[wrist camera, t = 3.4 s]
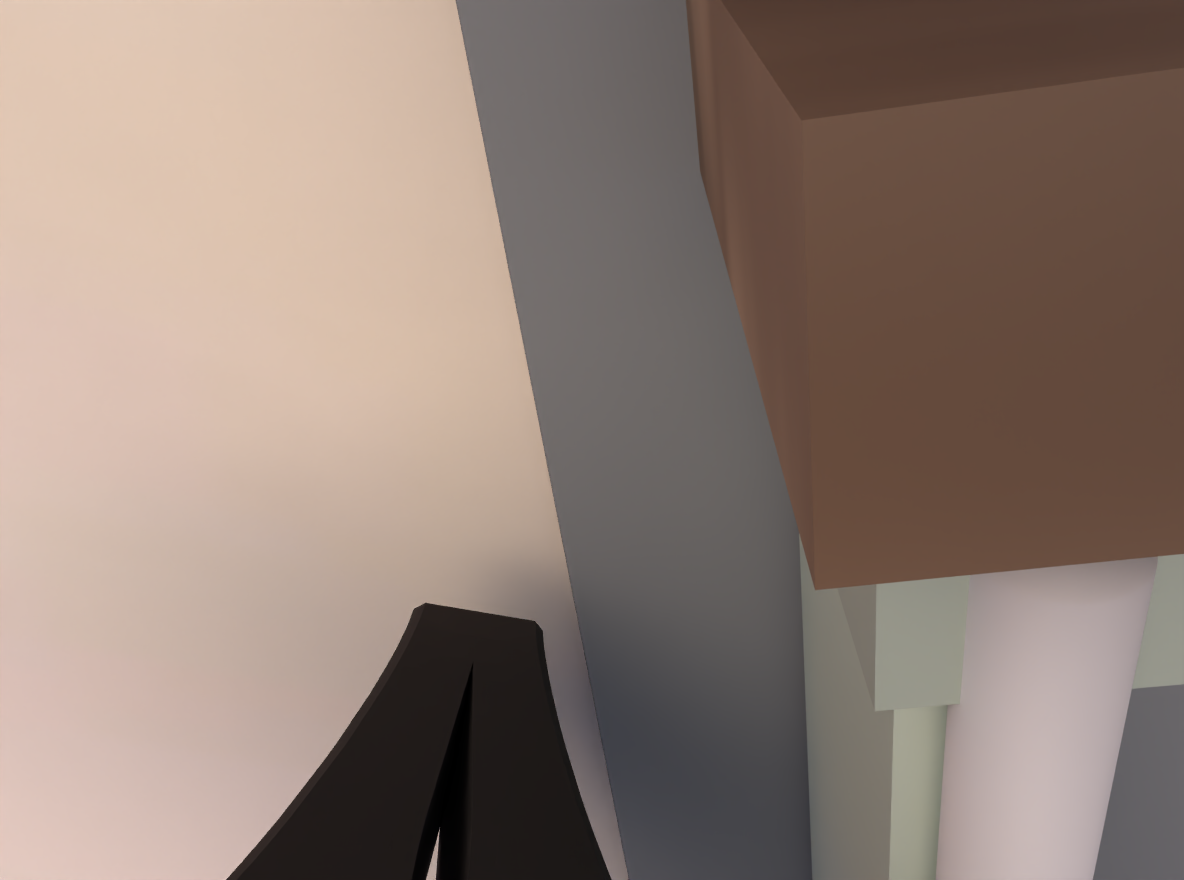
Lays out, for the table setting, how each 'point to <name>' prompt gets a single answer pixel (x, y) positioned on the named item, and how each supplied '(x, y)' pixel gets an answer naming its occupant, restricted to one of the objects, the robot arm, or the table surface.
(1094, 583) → the gate
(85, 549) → the table surface
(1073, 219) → the gate posts
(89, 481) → the table surface
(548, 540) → the table surface
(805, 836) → the yard mat
